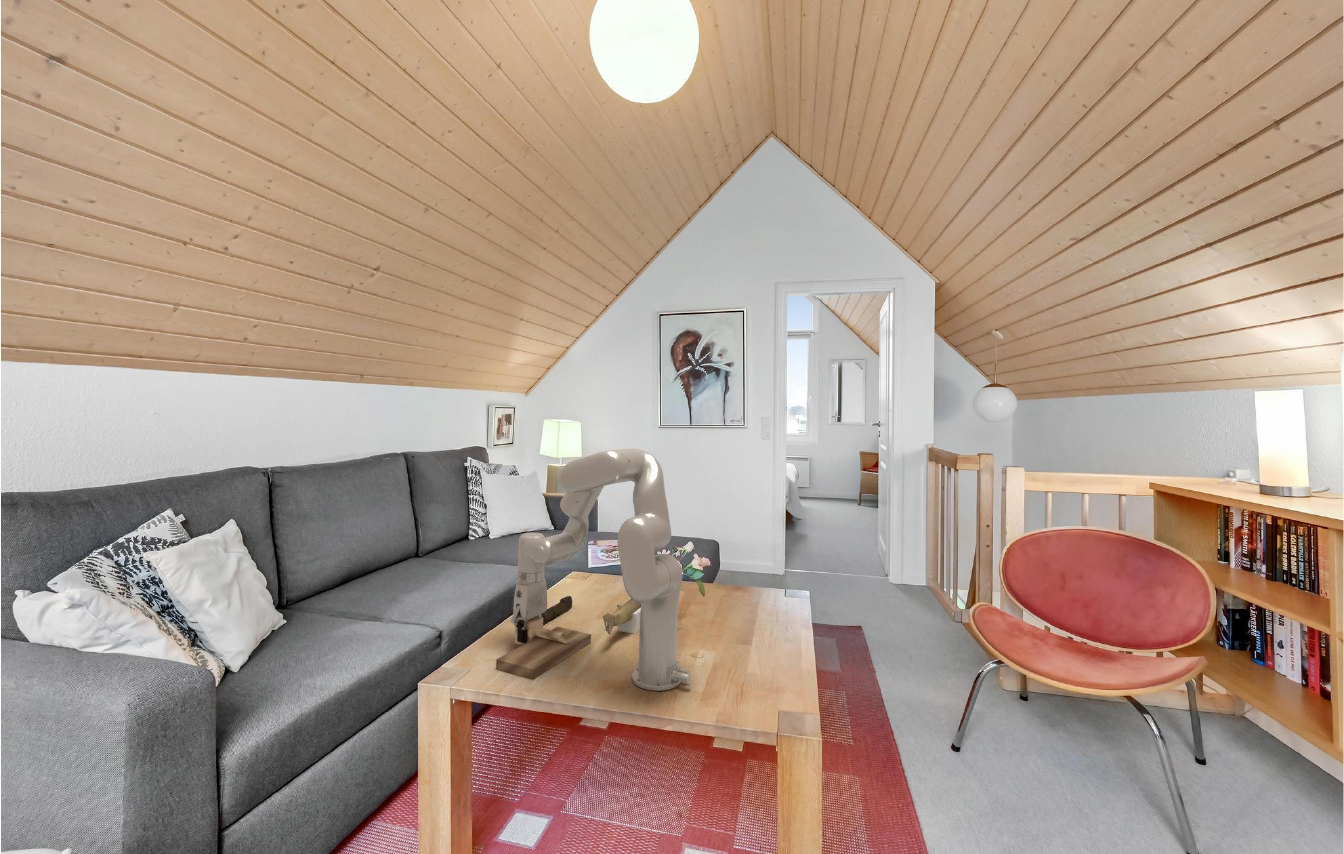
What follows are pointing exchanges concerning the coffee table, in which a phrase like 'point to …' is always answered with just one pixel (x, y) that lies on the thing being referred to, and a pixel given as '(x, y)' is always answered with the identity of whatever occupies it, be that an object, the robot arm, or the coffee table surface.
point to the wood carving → (624, 618)
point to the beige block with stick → (542, 632)
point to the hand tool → (557, 609)
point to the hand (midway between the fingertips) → (528, 637)
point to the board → (541, 654)
